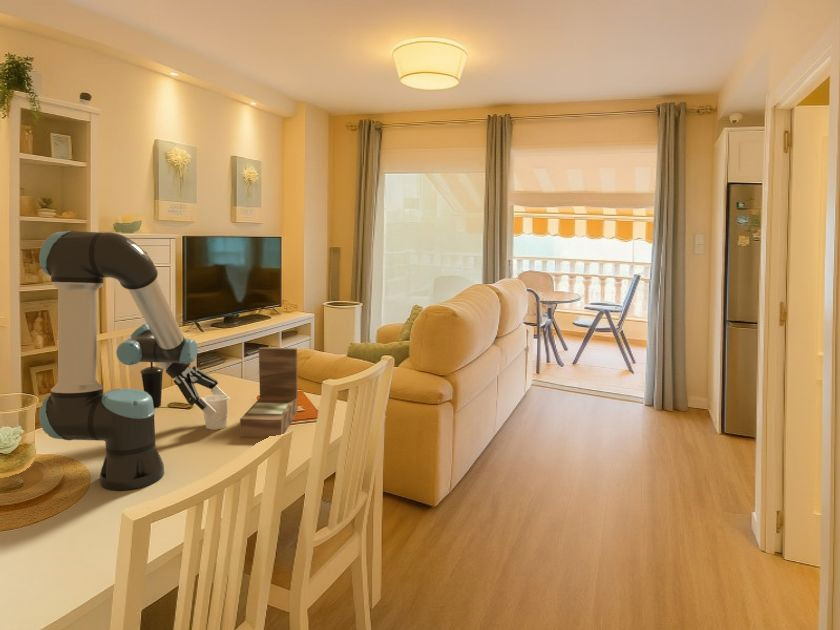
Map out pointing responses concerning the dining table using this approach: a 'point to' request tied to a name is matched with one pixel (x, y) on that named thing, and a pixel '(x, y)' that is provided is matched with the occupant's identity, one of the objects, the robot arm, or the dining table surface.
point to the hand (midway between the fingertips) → (220, 407)
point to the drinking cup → (153, 383)
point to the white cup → (217, 411)
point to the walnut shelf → (273, 394)
